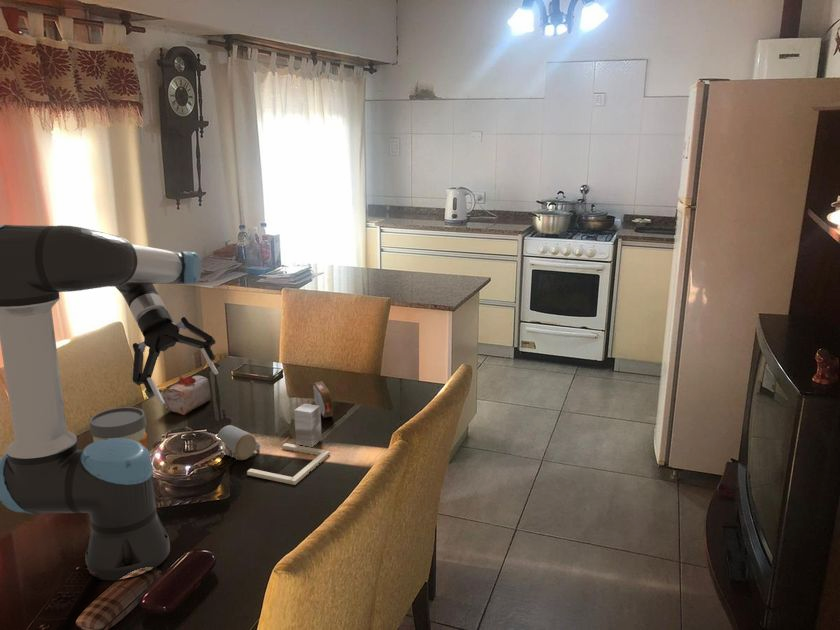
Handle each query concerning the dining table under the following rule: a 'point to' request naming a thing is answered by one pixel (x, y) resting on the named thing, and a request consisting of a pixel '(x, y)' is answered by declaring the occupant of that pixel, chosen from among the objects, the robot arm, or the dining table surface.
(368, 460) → the dining table surface
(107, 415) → the reusable coffee cup
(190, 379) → the food item
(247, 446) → the ceramic mug
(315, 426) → the grey block
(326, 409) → the tin
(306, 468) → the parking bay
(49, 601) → the dining table surface
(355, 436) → the dining table surface
